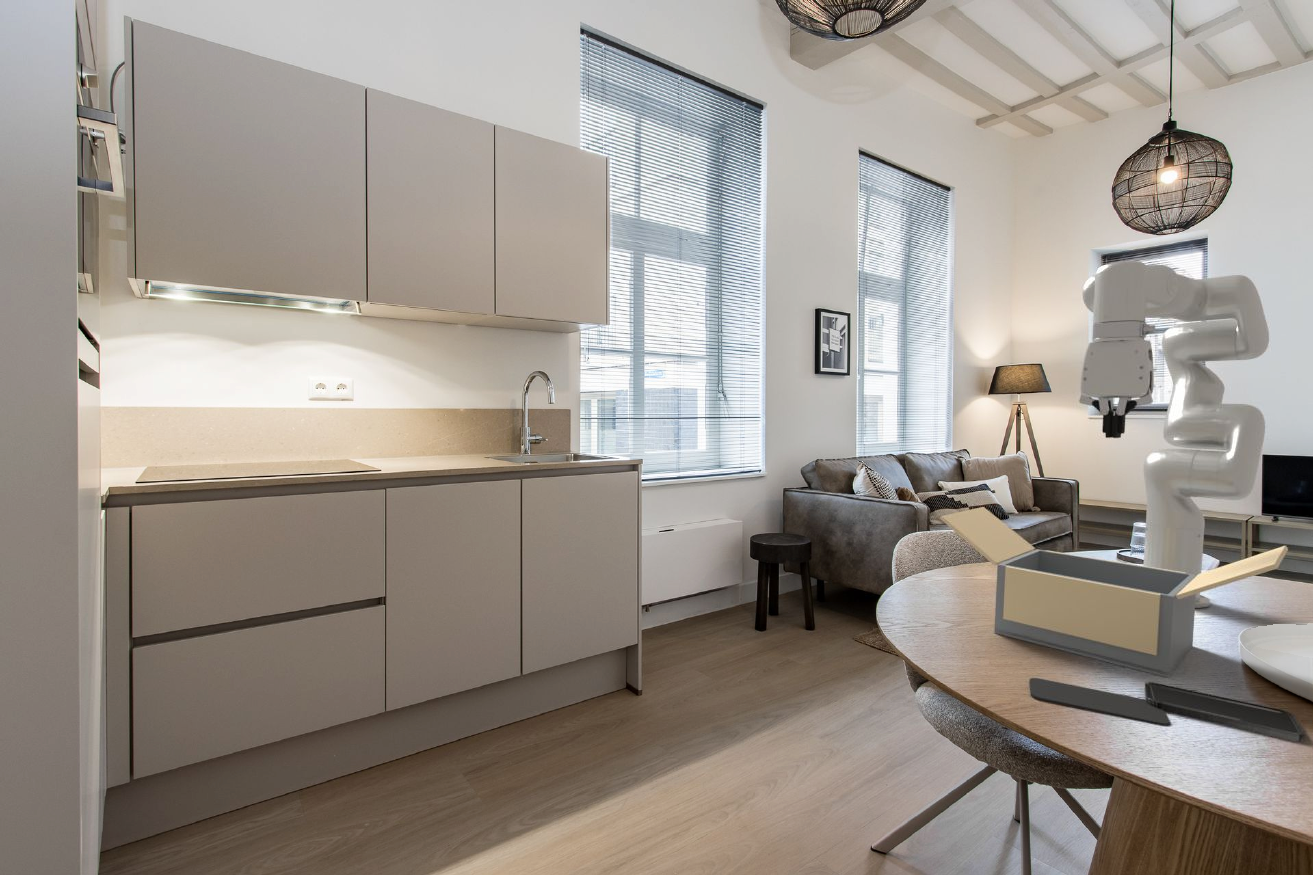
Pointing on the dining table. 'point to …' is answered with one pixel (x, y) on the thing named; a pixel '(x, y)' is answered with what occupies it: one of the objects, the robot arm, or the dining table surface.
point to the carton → (1097, 609)
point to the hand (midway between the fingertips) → (1113, 437)
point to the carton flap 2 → (1234, 572)
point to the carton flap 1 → (987, 534)
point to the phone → (1097, 701)
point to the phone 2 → (1224, 711)
